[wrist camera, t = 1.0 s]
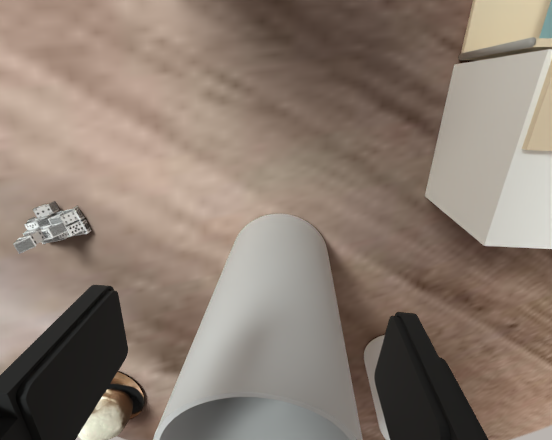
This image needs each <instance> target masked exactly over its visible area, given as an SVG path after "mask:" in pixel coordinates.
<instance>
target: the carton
mask: <svg viewBox="0 0 552 440" xmlns="http://www.w3.org/2000/svg"><path fill="white" fill-rule="evenodd" d="M550 2H551V0H473V3H472V7H471V12H470V16H469V20H468V25H467V29H466V33H465V38H464V42H463V46H462V51H461V53H465V52H469V51H474V50H478V49H483V48H487V47H492V46H496V45H501V44H505V43H510V42H514V41H518V40H523V39H527V38H532V37H534V38H539V37H540V34H541V30H542V27H543V24H544V21H545V18H546V14H547V11H548V8H549V5H550ZM425 197H426V198H427V199H429V200H430V201H431V202H432V203H433V204H435V205H436V206H437V207H438V208H439V209H441V210H442V211H443V212H444V213H445V214H447V215H448V216H449V217H450V218H451V219H453V220H454V221H455V222H456V223H457V224H459V225H460V226H461V227H462V228H463V229H465V230H466V231H467V232H468V233H469V234H471V235H472V236H473V237H474V238H475V239H477V240H478V241H479V242H480V243H481V244H482V245H484V246H499V247H519V248H540V249H552V49H547V50H541V51H535V52H529V53H522V54H516V55H510V56H504V57H498V58H492V59H485V60H479V61H473V62H467V63H461V64H454V68H453V72H452V77H451V81H450V86H449V90H448V95H447V99H446V104H445V108H444V112H443V117H442V121H441V126H440V130H439V135H438V139H437V144H436V148H435V152H434V157H433V161H432V166H431V170H430V175H429V179H428V184H427V188H426V193H425Z"/></svg>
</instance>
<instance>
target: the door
mask: <svg viewBox="0 0 552 440" xmlns="http://www.w3.org/2000/svg"><path fill="white" fill-rule="evenodd" d="M547 49H552V0H551V2H550V5H549V8H548V11H547V14H546V18H545V21H544V24H543V27H542V30H541V34H540V37H539V38H534V37H532V38H527V39H523V40H518V41H514V42H510V43H505V44H501V45H496V46H492V47H487V48H483V49H478V50H474V51H469V52H465V53H461V54H460V55H459V57H458V58H459V60H485V59H492V58H498V57H504V56H510V55H516V54H522V53H529V52H535V51H541V50H547Z"/></svg>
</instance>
